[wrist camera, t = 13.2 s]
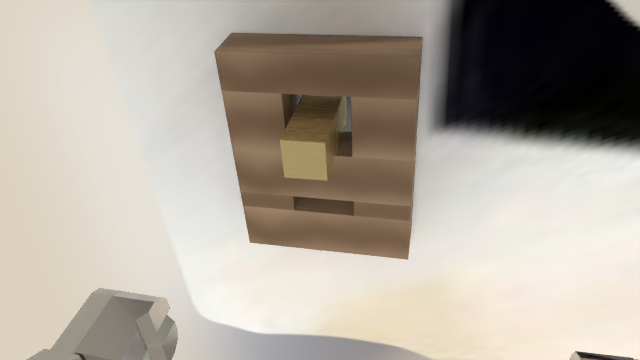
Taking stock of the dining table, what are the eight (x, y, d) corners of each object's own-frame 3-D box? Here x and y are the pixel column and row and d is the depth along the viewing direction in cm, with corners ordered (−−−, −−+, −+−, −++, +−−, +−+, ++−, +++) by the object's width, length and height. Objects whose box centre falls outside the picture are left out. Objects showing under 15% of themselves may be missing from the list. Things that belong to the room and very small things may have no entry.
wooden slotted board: (231, 32, 39) (214, 51, 36) (422, 37, 36) (419, 57, 34) (261, 217, 50) (250, 242, 47) (410, 231, 47) (407, 259, 44)
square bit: (307, 85, 40) (279, 140, 34) (345, 86, 40) (325, 143, 33) (310, 119, 42) (284, 177, 36) (347, 121, 42) (327, 180, 35)
